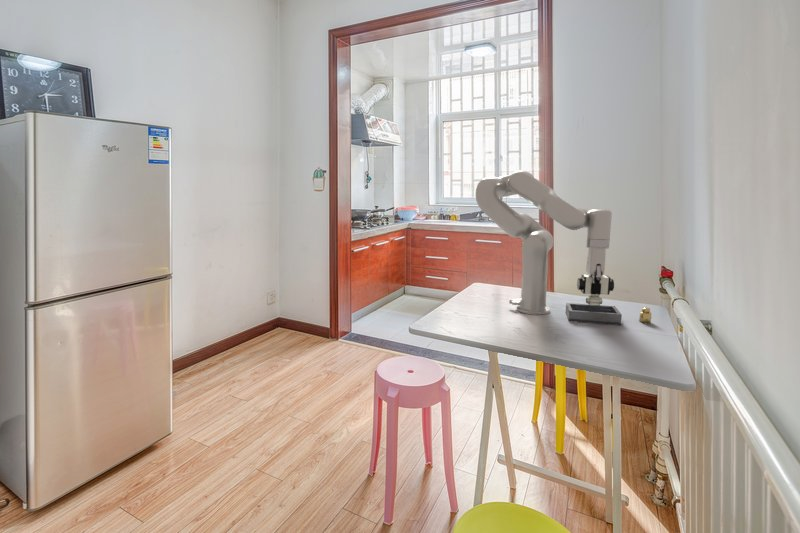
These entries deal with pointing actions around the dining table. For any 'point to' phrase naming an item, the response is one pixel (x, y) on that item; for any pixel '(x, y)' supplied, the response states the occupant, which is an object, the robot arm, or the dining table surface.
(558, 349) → the dining table surface
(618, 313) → the gray rectangular tray
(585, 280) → the pneumatic valve
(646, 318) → the brass fitting
